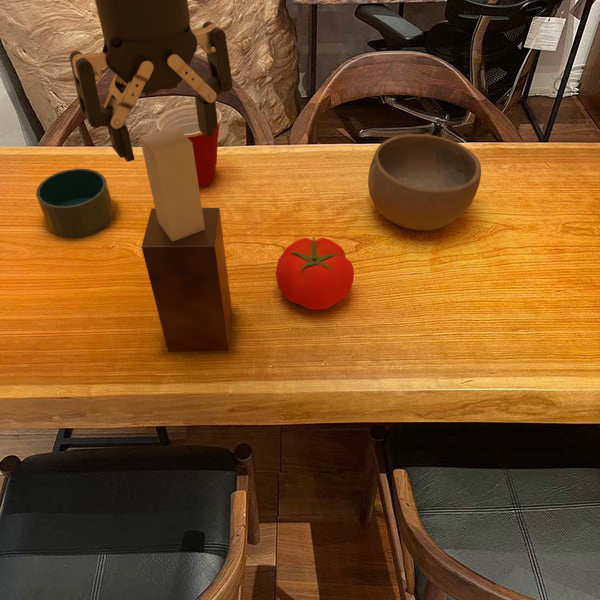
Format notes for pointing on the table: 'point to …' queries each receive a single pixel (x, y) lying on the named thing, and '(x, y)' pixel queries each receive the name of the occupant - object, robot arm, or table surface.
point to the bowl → (423, 180)
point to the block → (173, 182)
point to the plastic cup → (195, 140)
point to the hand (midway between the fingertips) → (168, 145)
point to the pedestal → (190, 285)
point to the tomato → (314, 273)
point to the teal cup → (76, 203)
